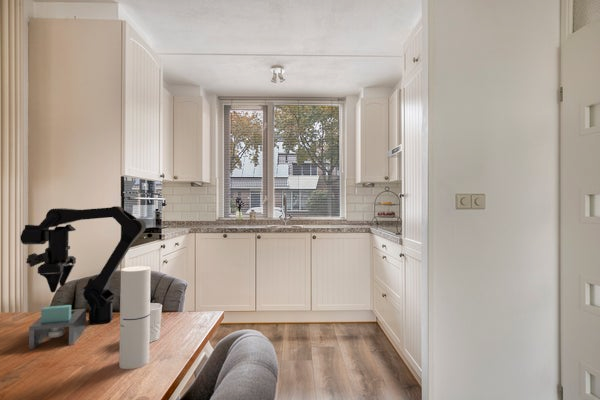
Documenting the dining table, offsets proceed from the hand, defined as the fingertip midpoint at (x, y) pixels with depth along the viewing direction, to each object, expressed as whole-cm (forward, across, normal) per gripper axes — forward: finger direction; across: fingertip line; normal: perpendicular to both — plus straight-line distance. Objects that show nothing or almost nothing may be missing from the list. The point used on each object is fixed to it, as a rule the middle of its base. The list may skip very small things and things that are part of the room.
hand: (57, 288), depth 118 cm
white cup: (+12, +24, +31) cm, 41 cm away
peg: (+10, +18, +5) cm, 21 cm away
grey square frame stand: (+12, +15, +5) cm, 20 cm away
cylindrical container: (+12, +40, +29) cm, 51 cm away
